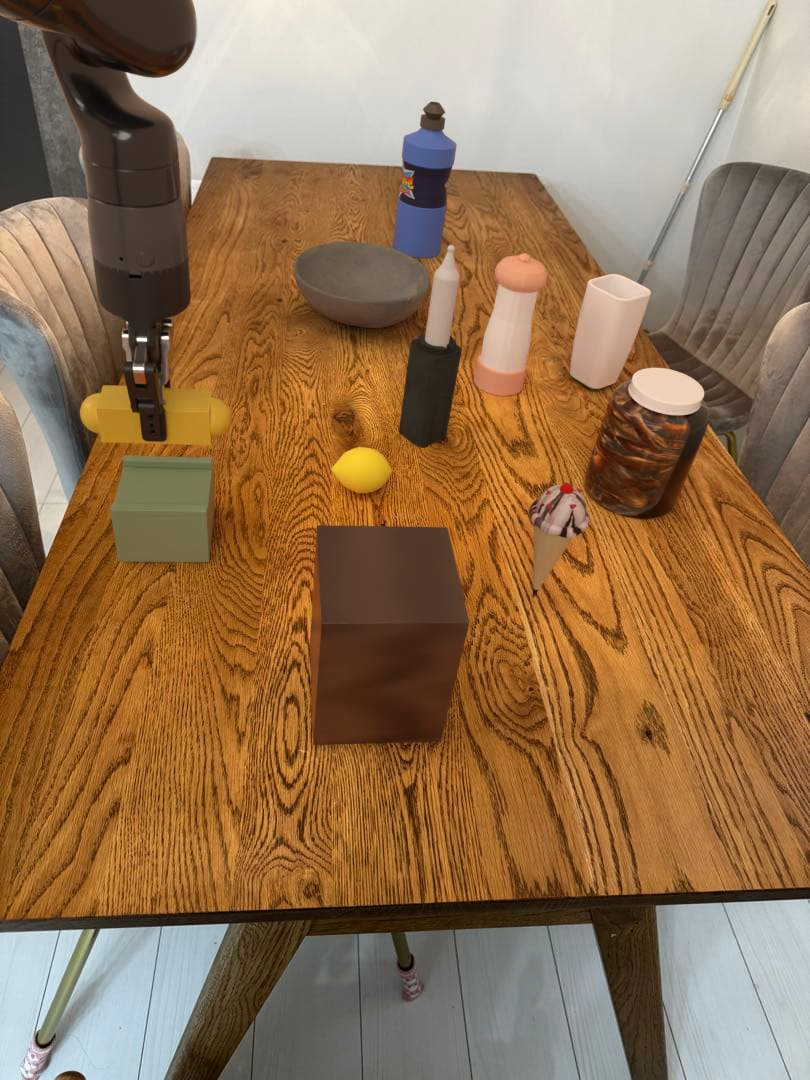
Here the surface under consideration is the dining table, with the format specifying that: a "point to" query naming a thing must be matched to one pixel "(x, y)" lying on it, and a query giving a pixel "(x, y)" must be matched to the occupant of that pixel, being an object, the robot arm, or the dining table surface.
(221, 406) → the yellow ball-topped peg
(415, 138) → the water bottle
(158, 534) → the block
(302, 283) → the bowl
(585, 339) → the cup
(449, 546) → the block
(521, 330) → the salt shaker
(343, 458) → the lemon
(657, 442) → the jar
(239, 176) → the dining table surface
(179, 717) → the dining table surface
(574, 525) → the ice cream cone
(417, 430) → the candle
